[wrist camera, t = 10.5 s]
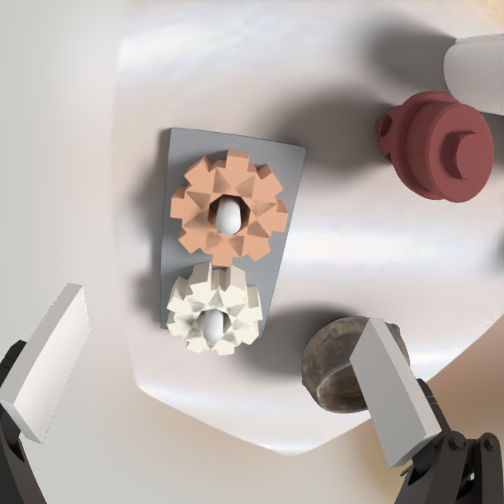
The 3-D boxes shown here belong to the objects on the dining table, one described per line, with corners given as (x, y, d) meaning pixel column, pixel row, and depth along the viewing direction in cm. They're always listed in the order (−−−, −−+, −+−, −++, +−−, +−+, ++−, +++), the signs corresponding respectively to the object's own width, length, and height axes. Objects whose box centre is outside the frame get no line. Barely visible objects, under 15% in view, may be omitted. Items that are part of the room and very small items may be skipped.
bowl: (318, 286, 37) (341, 342, 28) (408, 306, 40) (440, 352, 31) (279, 362, 43) (288, 418, 34) (363, 371, 45) (382, 418, 37)
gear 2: (159, 273, 33) (151, 293, 29) (248, 252, 32) (249, 272, 29) (189, 338, 37) (185, 361, 34) (266, 324, 37) (270, 346, 33)
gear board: (174, 127, 27) (155, 133, 21) (303, 146, 29) (324, 158, 22) (162, 320, 38) (151, 362, 31) (260, 332, 40) (265, 374, 33)
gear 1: (184, 144, 27) (176, 149, 23) (290, 159, 28) (298, 167, 25) (174, 241, 31) (167, 259, 28) (270, 253, 33) (274, 272, 29)
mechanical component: (417, 189, 32) (347, 161, 30) (442, 114, 27) (373, 76, 26) (484, 230, 21) (406, 194, 19) (517, 129, 16) (444, 69, 15)
